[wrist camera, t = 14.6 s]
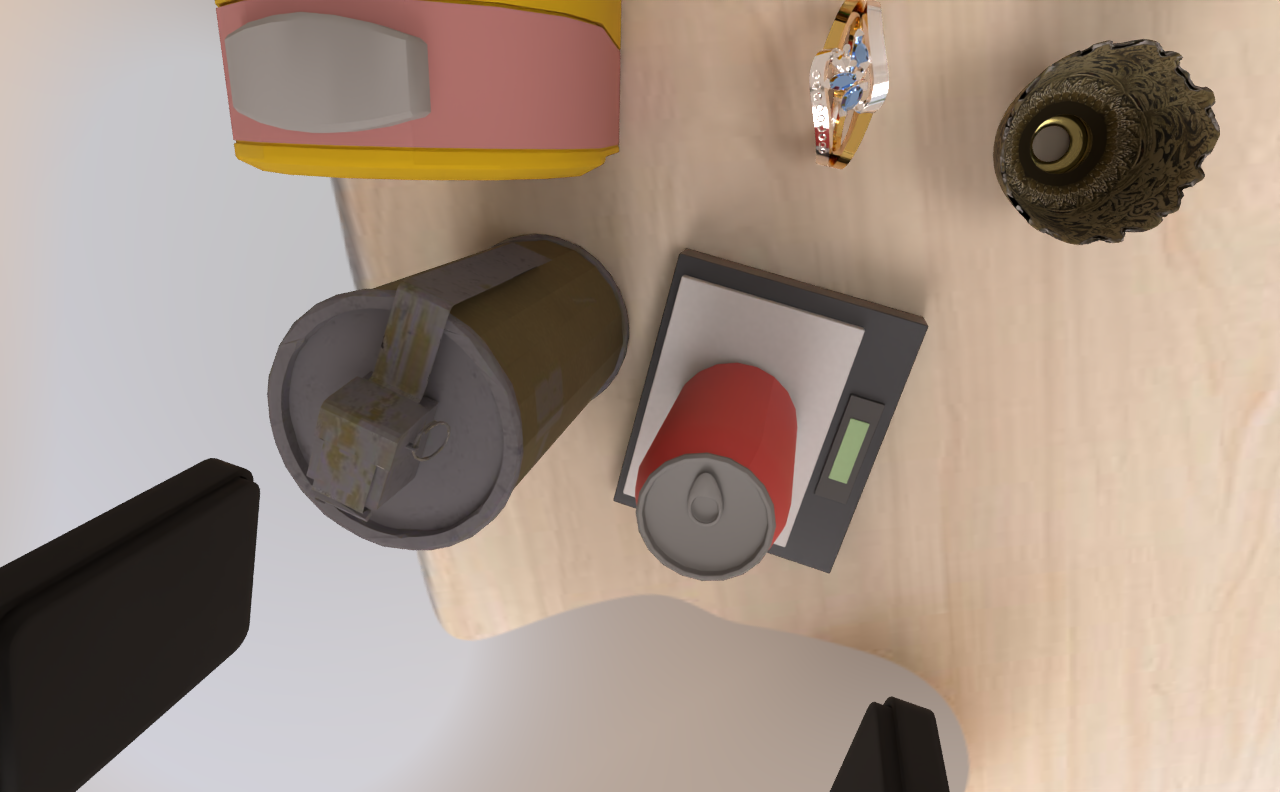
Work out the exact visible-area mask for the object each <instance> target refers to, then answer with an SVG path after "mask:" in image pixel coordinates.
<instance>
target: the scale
mask: <svg viewBox="0 0 1280 792" xmlns="http://www.w3.org/2000/svg"><path fill="white" fill-rule="evenodd" d="M927 329H928V325H927V323H926V321H925V319H924V318H923V317H921V316H917V315H914V314H910V313H907V312H903V311H900V310H897V309H893V308H890V307H886V306H883V305H879V304H876V303H873V302H869V301H866V300H862V299H859V298H855V297H852V296H849V295H845V294H842V293H838V292H835V291H831V290H828V289H825V288H821V287H818V286H814V285H811V284H807V283H804V282H801V281H797V280H794V279H790V278H787V277H783V276H780V275H777V274H773V273H770V272H766V271H763V270H759V269H756V268H753V267H749V266H746V265H742V264H739V263H735V262H732V261H729V260H725V259H722V258H718V257H715V256H711V255H708V254H705V253H701V252H698V251H694V250H691V249H688V248H686V249H685V250H683V251H682V252H681V253H680V254H679V257H678V261H677V265H676V269H675V272H674V276H673V280H672V284H671V287H670V291H669V295H668V298H667V302H666V306H665V310H664V313H663V317H662V321H661V325H660V328H659V332H658V336H657V339H656V343H655V347H654V351H653V354H652V358H651V362H650V365H649V369H648V373H647V377H646V380H645V384H644V388H643V392H642V395H641V399H640V403H639V406H638V410H637V414H636V418H635V421H634V425H633V429H632V433H631V436H630V440H629V444H628V447H627V451H626V455H625V459H624V462H623V466H622V470H621V474H620V477H619V481H618V485H617V488H616V492H615V496H614V501H615V502H618V503H621V504H624V505H627V506H630V507H633V508H636V507H637V505H636V498H635V486H636V481H637V475H638V470H639V466H640V464H641V462H642V460H643V458H644V457H645V455H646V453H647V451H648V449H649V448H650V446H651V444H652V442H653V440H654V439H655V437H656V435H657V433H658V431H659V429H660V428H661V426H662V424H663V422H664V420H665V419H666V417H667V415H668V413H669V411H670V410H671V408H672V406H673V404H674V402H675V401H676V399H677V397H678V395H679V394H680V392H681V390H682V388H683V387H684V385H685V384H686V383H687V382H688V381H689V380H690V379H691V378H692V377H694V376H695V375H696V374H697V373H698V372H700V371H702V370H704V369H707V368H709V367H712V366H714V365H716V364H726V363H741V364H746V365H750V366H755V367H758V368H759V369H761V370H763V371H765V372H766V373H768V374H770V375H772V376H774V377H775V378H776V379H777V380H778V382H779V383H780V384H781V385H782V386H783V387H784V388H785V389H786V390H787V391H788V393H789V395H790V398H791V400H792V402H793V404H794V406H795V409H796V417H797V440H796V452H795V464H794V476H793V488H792V501H791V507H790V511H789V514H788V518H787V522H786V526H785V527H784V529H783V530H782V532H781V533H780V535H779V536H778V538H777V539H776V541H775V542H774V543H773V545H772V546H771V548H770V549H769V550H768V551H767V553H770V554H773V555H776V556H779V557H782V558H785V559H788V560H791V561H794V562H797V563H800V564H803V565H806V566H809V567H812V568H815V569H817V570H820V571H823V572H826V573H830V572H831V569H832V567H833V564H834V562H835V559H836V557H837V554H838V552H839V549H840V547H841V544H842V542H843V539H844V537H845V534H846V532H847V529H848V527H849V524H850V522H851V519H852V517H853V514H854V512H855V509H856V507H857V504H858V502H859V499H860V497H861V494H862V492H863V489H864V487H865V484H866V481H867V479H868V476H869V474H870V471H871V469H872V466H873V464H874V461H875V459H876V456H877V454H878V451H879V449H880V446H881V444H882V441H883V439H884V436H885V434H886V431H887V429H888V426H889V424H890V421H891V419H892V416H893V414H894V411H895V409H896V406H897V404H898V401H899V399H900V396H901V394H902V391H903V389H904V386H905V384H906V381H907V379H908V376H909V374H910V371H911V369H912V366H913V364H914V361H915V359H916V356H917V354H918V351H919V349H920V346H921V344H922V341H923V339H924V336H925V334H926V331H927Z"/></svg>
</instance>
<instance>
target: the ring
mask: <svg viewBox="0 0 1280 792" xmlns="http://www.w3.org/2000/svg"><path fill="white" fill-rule="evenodd" d="M849 28H850V34H849V41H848V44H845V45H844V42H845V39H846V36H847V33H848V30H849ZM843 46H844V47H843ZM842 50H843V52H842ZM831 62H832V73H833V74H836V75H835V76H833V77H832V78H831V79H830V80H829V79H828V78H827V71H828V67H829V64H830V63H831ZM868 68H869V76H870V91H869V95H868V98H867V99H866V100H865V101H862V100H861V97H862V95H863V90H864V91H867V88H868V82H867V81H866V80H865V79H862V80H860V79H861V78H864V77H865V76H866V73H867V71H868ZM837 73H838V74H837ZM809 81H810V95H811V102H812V109H813V117H814V126H815V138H816V164H820V165H823V166H827V165H829V167H833V168H837V169H843V168H845V167H846V166H847V164H848V163H849V162H850V160H851V159H852V157H853V156H854V154H855V152H856V151H857V149H858V147H859V145H860V143H861V141H862V139H863V136H864V134H865V132H866V130H867V127H868V125H869V122H870V120H871V118H872V115H873V113H875V112H876V111H877V110H879V109H880V107H881V106H882V104H883V103H884V101H885V98H886V95H887V91H888V82H889V75H888V63H887V56H886V49H885V41H884V32H883V22H882V12H881V4H880V2H879V1H875V0H867V1H866V4H865V1H864V0H845V2H844V3H843V5H842V6H841V8H840V10H839V12H838V14H837V16H836V18H835V20H834V23H833V25H832V27H831V30H830V32H829V35H828V37H827V40H826V43H825V46H824V48H823V49H822V50H821V51H819V52H818V53H817V54H816V56H815V58H814V60H813V62H812V65H811V69H810V80H809ZM830 89H833V90H835V92H834V95H833V97H834V99H833V103H832V106H831V110H830V102H829V95H828V90H830ZM852 108H853V109H854V113H853V116H852V120H851V123H850V126H849V129H848V132H847V134H846V137H845V139H844V141H843V143H842V144H841V136H842V130H843V125H844V120H845V116H846V115H847V111H848V110H850V109H852Z"/></svg>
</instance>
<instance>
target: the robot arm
mask: <svg viewBox="0 0 1280 792" xmlns="http://www.w3.org/2000/svg"><path fill="white" fill-rule="evenodd" d="M259 500H260V489H259V486H258V485H257V484H256V483H254V482H253V476H252V473H251V472H250V471H248V470H247V469H244V468H242V467H239V466H236V465H233V464H230V463H227V462H224V461H222V460H219V459H215V458H210V459H207V460H204V461H202V462H200V463H198V464H196V465H194V466H193V467H191V468H189V469H187V470H185V471H183V472H181V473H180V474H178V475H176V476H173V477H172V478H170V479H168V480H166V481H164V482H162V483H160V484H158V485H156V486H154V487H153V488H151V489H149V490H147V491H145V492H143V493H141V494H139V495H137V496H135V497H134V498H132V499H130V500H128V501H126V502H124V503H122V504H120V505H118V506H116V507H115V508H113V509H111V510H109V511H107V512H105V513H103V514H101V515H99V516H98V517H96V518H94V519H92V520H90V521H88V522H86V523H85V524H82V525H80V526H78V527H77V528H75V529H73V530H71V531H69V532H67V533H65V534H63V535H62V536H60V537H58V538H56V539H54V540H52V541H50V542H48V543H46V544H44V545H42V546H40V547H39V548H37V549H35V550H33V551H31V552H29V553H27V554H25V555H23V556H21V557H20V558H18V559H16V560H14V561H12V562H10V563H8V564H6V565H5V566H3V567H1V568H0V792H76V791H77V790H78V789H79V788H80V787H81V786H82V785H84V784H85V783H86V782H87V781H88V780H89V779H90V778H91V777H93V776H94V775H95V774H96V773H97V772H98V771H100V770H101V769H102V768H103V767H104V766H105V765H106V764H108V763H109V762H110V761H111V760H112V759H113V758H114V757H116V756H117V755H118V754H119V753H120V752H121V751H122V750H123V749H125V748H126V747H127V746H128V745H129V744H130V743H131V742H133V741H134V740H135V739H136V738H137V737H138V736H139V735H140V734H142V733H143V732H144V731H145V730H146V729H147V728H149V727H150V725H152V724H153V723H154V722H155V721H156V720H157V719H159V718H160V717H161V716H162V715H163V714H164V713H165V712H166V711H168V710H169V709H170V708H171V707H172V706H174V705H175V704H176V703H177V702H178V701H179V700H180V699H181V698H182V697H184V696H185V695H186V694H187V693H188V692H189V691H191V690H192V689H193V688H194V687H195V686H196V685H197V684H199V683H200V682H201V681H202V680H203V679H204V678H205V677H207V676H208V675H209V674H210V673H211V672H212V671H213V670H214V669H216V668H217V667H218V666H219V665H220V664H221V663H222V662H224V661H225V660H226V659H227V658H228V657H229V656H230V655H232V654H233V653H234V652H235V651H236V650H237V649H238V648H239V647H240V645H241V644H242V642H243V641H244V639H245V637H246V635H247V632H248V630H249V623H250V612H251V598H252V587H253V573H254V562H255V549H256V537H257V525H258V512H259ZM830 792H950V791H949V786H948V781H947V776H946V770H945V765H944V760H943V755H942V750H941V745H940V739H939V735H938V729H937V724H936V719H935V716H934V713H933V712H932V711H931V710H929V709H926V708H923V707H920V706H917V705H914V704H912V703H909V702H906V701H903V700H900V699H897V698H895V697H889V698H888V699H887V700H886V701H885V703H884V705H881V704H879V703H876V702H872V703H871V704H870V705H869V707H868V709H867V711H866V713H865V715H864V717H863V720H862V722H861V724H860V726H859V728H858V731H857V733H856V735H855V737H854V739H853V742H852V744H851V746H850V748H849V751H848V753H847V755H846V757H845V759H844V761H843V764H842V766H841V768H840V770H839V773H838V775H837V777H836V779H835V781H834V784H833V786H832V788H831V790H830Z"/></svg>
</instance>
